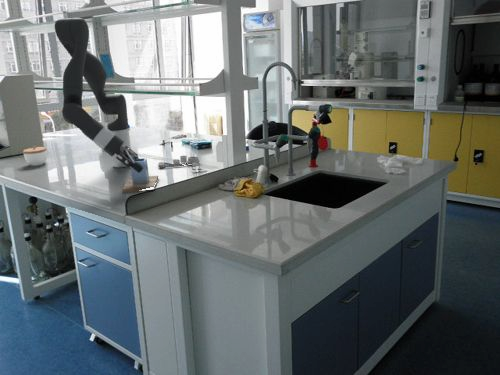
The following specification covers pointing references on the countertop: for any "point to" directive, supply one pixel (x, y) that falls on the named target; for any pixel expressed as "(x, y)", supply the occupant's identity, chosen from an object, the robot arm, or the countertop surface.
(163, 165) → the pulley system
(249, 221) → the countertop surface
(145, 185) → the post base
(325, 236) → the countertop surface
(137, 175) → the blue box
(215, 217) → the countertop surface
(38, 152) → the lidded jar
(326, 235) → the countertop surface
